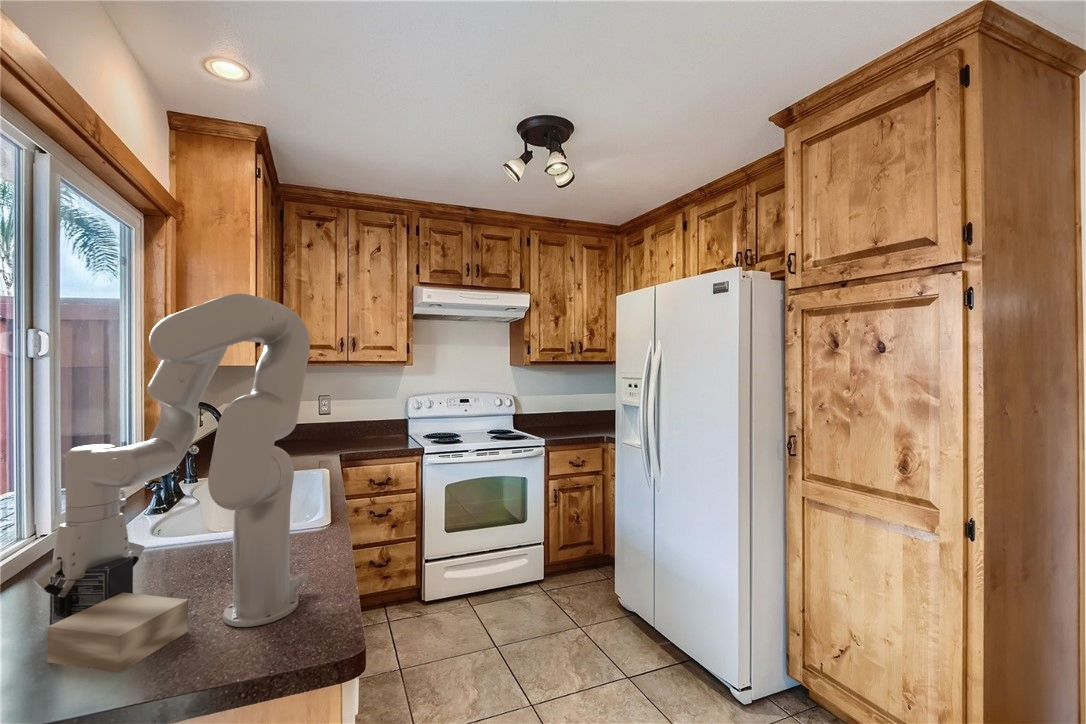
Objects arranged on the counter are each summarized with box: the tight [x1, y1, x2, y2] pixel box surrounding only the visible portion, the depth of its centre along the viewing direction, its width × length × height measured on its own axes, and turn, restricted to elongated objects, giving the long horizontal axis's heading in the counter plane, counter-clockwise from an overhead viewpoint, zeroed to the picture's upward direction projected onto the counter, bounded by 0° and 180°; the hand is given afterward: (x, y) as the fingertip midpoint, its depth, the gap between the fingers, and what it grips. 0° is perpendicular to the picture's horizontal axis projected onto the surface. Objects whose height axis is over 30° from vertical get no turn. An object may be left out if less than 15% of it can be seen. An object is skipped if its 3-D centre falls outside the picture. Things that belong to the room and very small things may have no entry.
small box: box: [49, 556, 134, 626], centre depth 94 cm, size 11×6×10 cm, turn 92°
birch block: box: [46, 593, 189, 674], centre depth 85 cm, size 12×14×6 cm
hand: (93, 604), depth 94 cm, fingers open, 8 cm apart
